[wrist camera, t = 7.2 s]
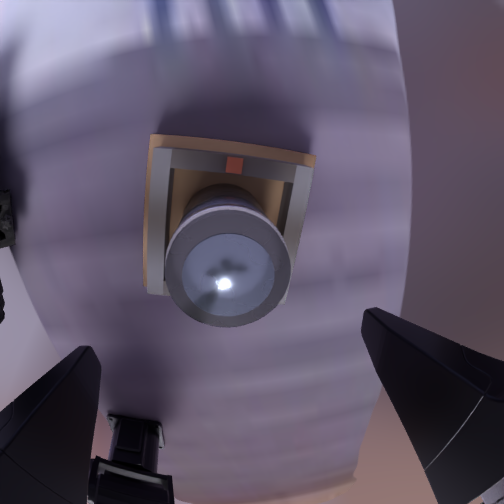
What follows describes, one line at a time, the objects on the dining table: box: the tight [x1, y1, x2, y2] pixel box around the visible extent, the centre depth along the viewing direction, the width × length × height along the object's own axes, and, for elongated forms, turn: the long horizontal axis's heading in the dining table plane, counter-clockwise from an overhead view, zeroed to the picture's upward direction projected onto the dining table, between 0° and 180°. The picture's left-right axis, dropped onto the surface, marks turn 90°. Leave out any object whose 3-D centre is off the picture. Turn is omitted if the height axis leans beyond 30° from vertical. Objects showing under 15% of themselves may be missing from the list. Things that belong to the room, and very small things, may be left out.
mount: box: [143, 134, 316, 305], centre depth 17 cm, size 10×10×4 cm
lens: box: [165, 183, 291, 327], centre depth 14 cm, size 5×5×7 cm
